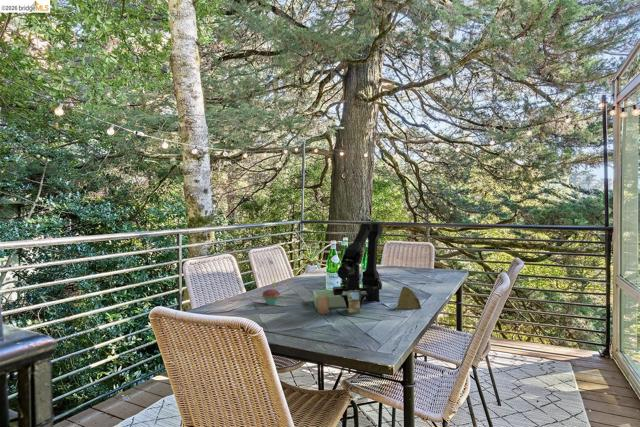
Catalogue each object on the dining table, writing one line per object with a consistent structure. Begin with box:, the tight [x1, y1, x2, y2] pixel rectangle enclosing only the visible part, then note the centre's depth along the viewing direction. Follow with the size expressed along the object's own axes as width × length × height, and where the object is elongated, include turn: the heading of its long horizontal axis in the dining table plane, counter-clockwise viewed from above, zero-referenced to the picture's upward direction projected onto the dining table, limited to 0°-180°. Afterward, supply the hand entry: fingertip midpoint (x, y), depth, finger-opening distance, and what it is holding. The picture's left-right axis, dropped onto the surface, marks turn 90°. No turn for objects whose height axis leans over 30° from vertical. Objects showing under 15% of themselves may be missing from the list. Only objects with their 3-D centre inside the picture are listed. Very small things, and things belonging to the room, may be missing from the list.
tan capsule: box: [317, 296, 330, 315], centre depth 186 cm, size 5×5×7 cm
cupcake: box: [261, 280, 281, 306], centre depth 201 cm, size 9×8×12 cm
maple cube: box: [346, 298, 361, 314], centre depth 187 cm, size 5×5×5 cm
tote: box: [312, 289, 353, 309], centre depth 200 cm, size 18×14×5 cm
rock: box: [396, 286, 422, 310], centre depth 191 cm, size 11×9×10 cm
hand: (353, 308), depth 187 cm, fingers closed on maple cube, 5 cm apart
